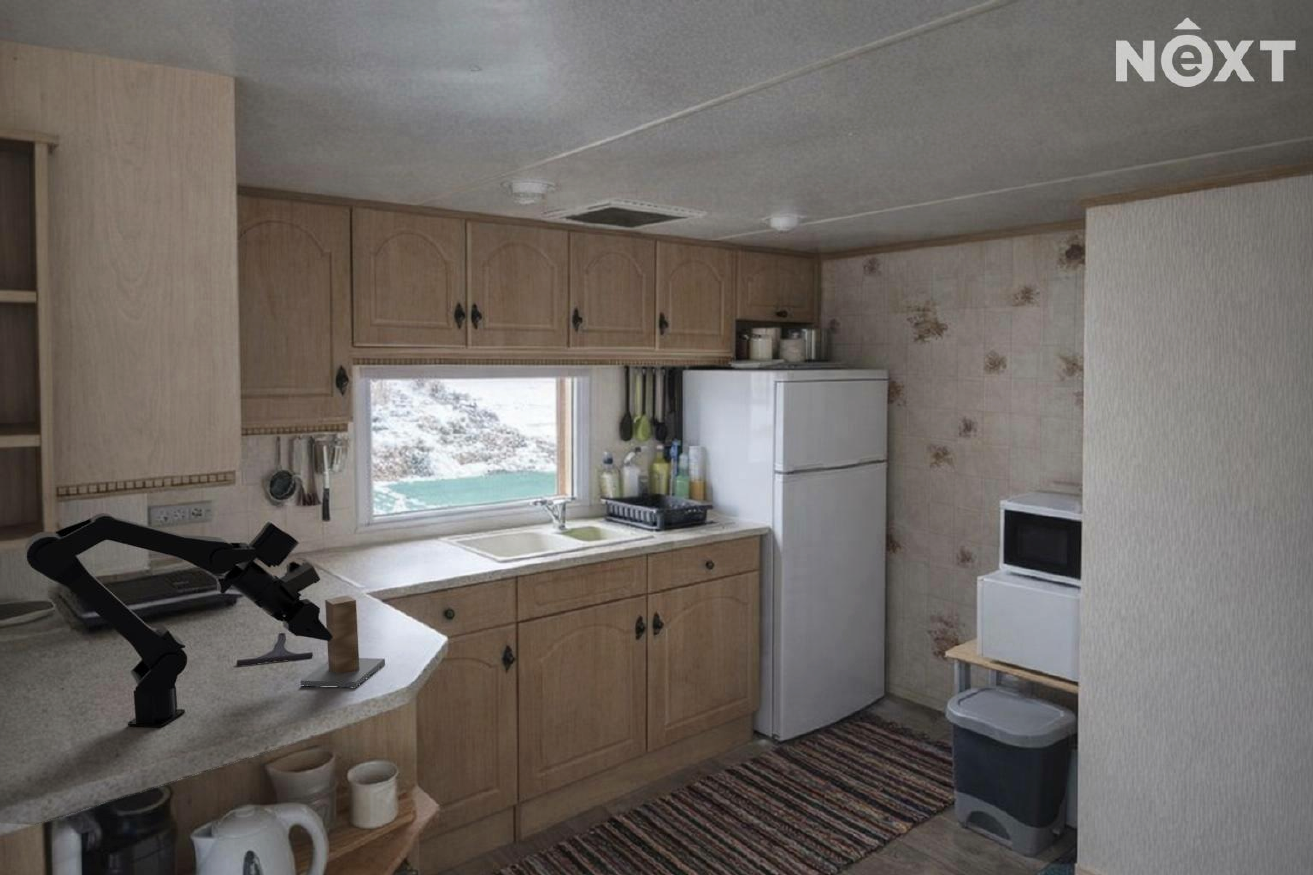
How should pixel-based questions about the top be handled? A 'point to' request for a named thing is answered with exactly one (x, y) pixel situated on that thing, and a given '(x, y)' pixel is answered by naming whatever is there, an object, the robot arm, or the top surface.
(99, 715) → the top surface
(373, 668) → the far plate
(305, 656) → the squeegee
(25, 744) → the top surface
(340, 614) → the walnut block
